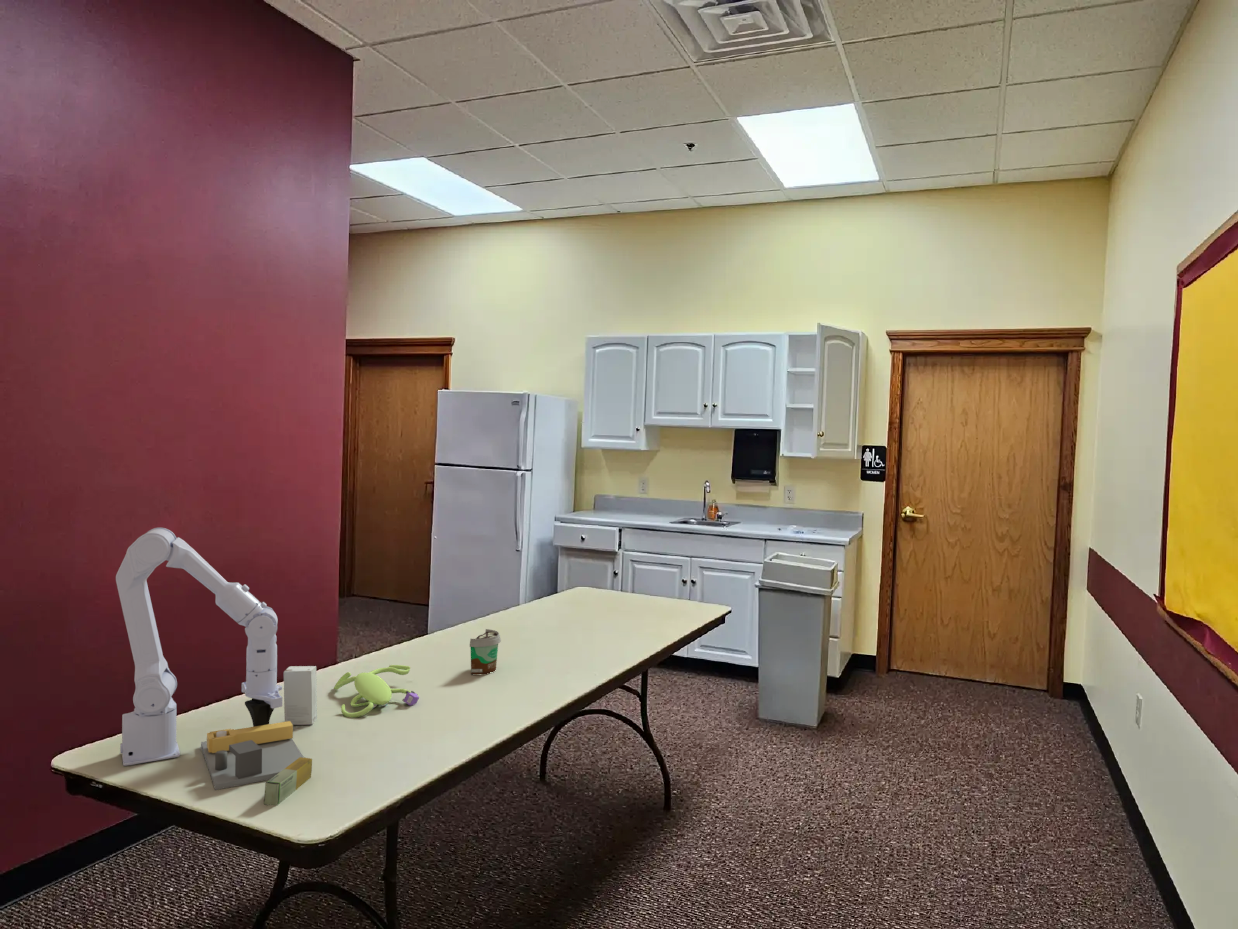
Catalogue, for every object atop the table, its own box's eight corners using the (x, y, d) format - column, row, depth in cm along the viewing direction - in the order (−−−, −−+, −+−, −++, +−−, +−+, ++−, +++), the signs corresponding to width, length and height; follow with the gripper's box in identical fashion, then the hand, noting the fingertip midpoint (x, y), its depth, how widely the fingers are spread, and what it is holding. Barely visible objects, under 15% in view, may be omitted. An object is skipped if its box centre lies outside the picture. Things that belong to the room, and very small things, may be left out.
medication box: (277, 807, 139) (278, 784, 139) (262, 805, 140) (263, 782, 139) (312, 778, 151) (313, 757, 151) (298, 777, 152) (299, 755, 151)
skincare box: (317, 718, 182) (318, 665, 181) (312, 726, 177) (312, 670, 177) (289, 719, 181) (289, 665, 181) (282, 726, 177) (283, 671, 176)
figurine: (407, 680, 213) (407, 658, 213) (426, 712, 189) (426, 688, 189) (332, 687, 206) (332, 665, 206) (342, 721, 181) (342, 696, 181)
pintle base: (215, 790, 145) (215, 759, 145) (201, 747, 164) (201, 719, 164) (309, 771, 153) (309, 742, 153) (285, 733, 173) (285, 706, 173)
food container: (490, 678, 215) (491, 640, 215) (468, 676, 216) (469, 639, 216) (506, 665, 227) (507, 630, 227) (485, 664, 228) (486, 628, 228)
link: (209, 753, 157) (209, 740, 157) (206, 745, 161) (206, 732, 161) (293, 739, 165) (293, 727, 165) (289, 732, 170) (289, 719, 169)
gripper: (297, 672, 164) (296, 738, 165) (265, 657, 174) (264, 720, 174) (262, 679, 159) (261, 748, 159) (231, 663, 169) (231, 728, 169)
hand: (261, 734), depth 167 cm, fingers closed, pressing on link
